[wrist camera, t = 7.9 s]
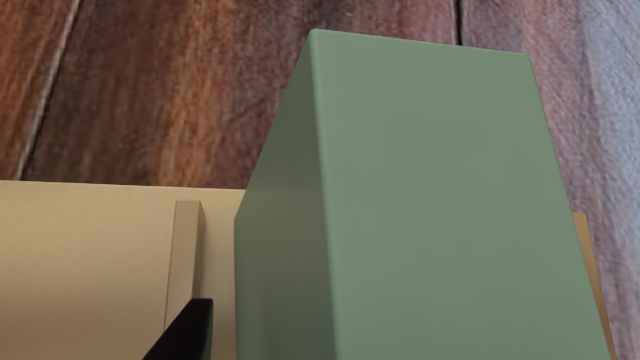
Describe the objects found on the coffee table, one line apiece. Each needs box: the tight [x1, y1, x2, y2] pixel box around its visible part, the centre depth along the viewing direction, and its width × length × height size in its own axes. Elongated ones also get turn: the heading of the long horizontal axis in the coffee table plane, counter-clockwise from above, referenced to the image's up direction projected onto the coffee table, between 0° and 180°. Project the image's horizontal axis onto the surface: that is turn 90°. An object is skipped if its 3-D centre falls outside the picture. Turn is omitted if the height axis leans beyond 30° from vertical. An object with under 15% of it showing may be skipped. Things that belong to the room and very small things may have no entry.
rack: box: [0, 180, 617, 360], centre depth 14 cm, size 12×24×3 cm, turn 91°
